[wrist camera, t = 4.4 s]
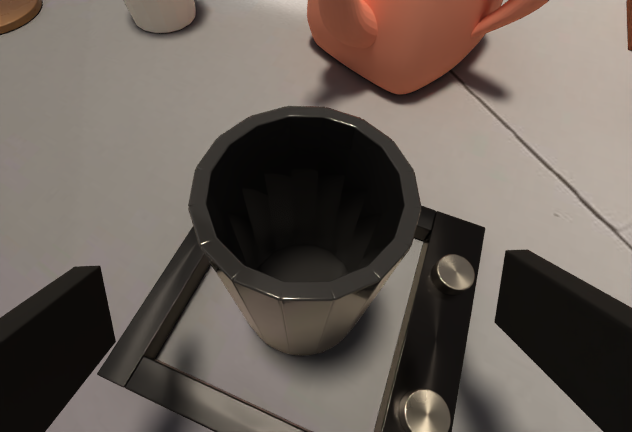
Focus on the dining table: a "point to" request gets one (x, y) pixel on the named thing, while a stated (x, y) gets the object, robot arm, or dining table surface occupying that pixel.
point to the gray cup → (304, 221)
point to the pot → (407, 35)
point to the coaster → (17, 13)
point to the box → (629, 23)
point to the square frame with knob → (408, 362)
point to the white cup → (161, 14)
